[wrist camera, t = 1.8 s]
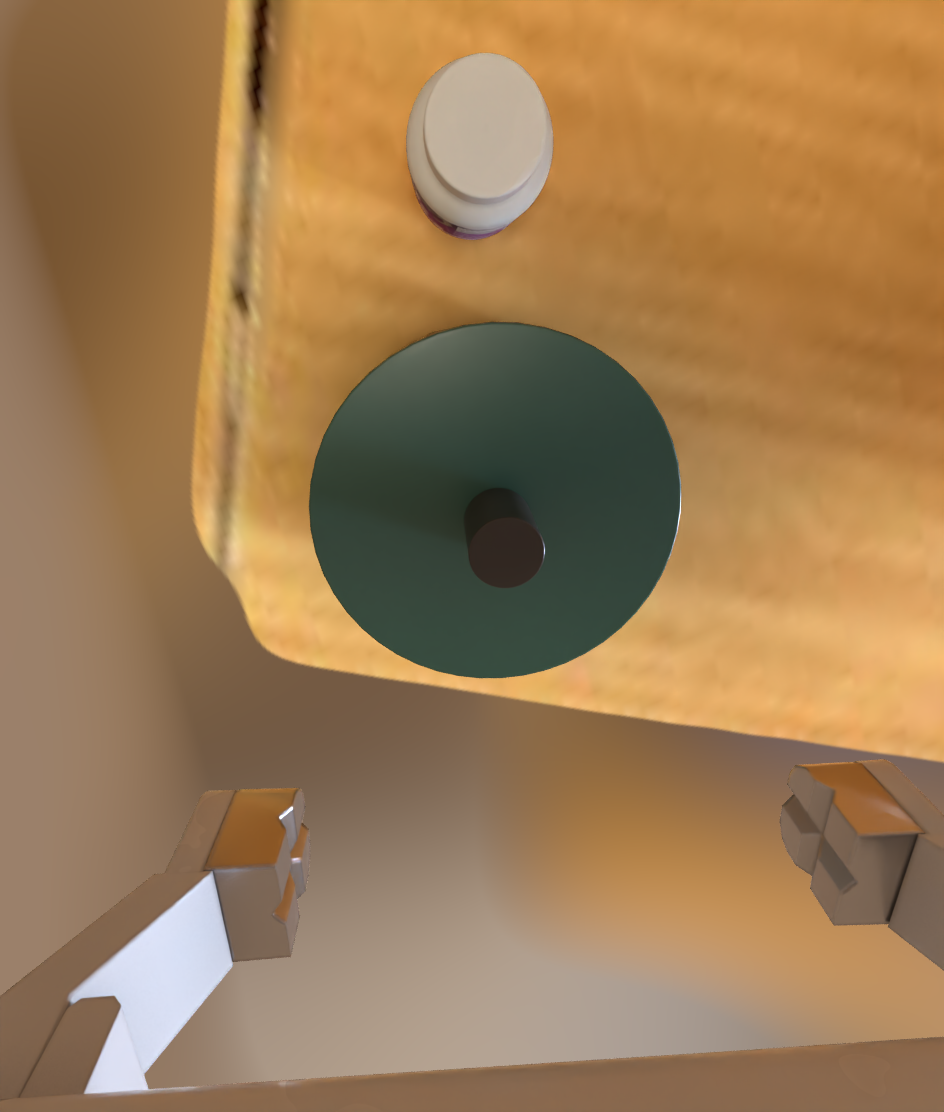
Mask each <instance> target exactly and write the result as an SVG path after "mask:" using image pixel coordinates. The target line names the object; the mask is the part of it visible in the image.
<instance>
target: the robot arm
mask: <svg viewBox="0 0 944 1112" xmlns="http://www.w3.org/2000/svg"><path fill="white" fill-rule="evenodd" d="M787 785H788V786H789V788H790V789H791V791H792V792H793V794H794V795H792V797H790V798H789V799H788V800H787V801H786V802H785V803H784V804H783V805H782V811H781V817H780V826H781V833H782V839H783V842H784V844H785V847H786V849H787V852H788V854H789V855H790V857H791V858H792V860H793V862H794V863H795V865H796V866H798V867H799V868H801V869H802V870H804V871H805V872H807V873H808V874H810V875H811V876H812V881H811V887H810V889H811V890H812V892H813V893H814V895H815V897H816V898H817V900H818V901H819V903H820V904H821V906H822V907H823V909H824V911H825V912H826V914H827V915H828V917H829V919H830V920H831V922H832V923H833V925H870V924H889V925H888V927H889V928H890V929H891V930H893V931H894V932H895V933H897V934H898V935H899V936H900V937H902V938H903V939H904V940H905V941H907V942H908V943H909V944H911V945H912V946H913V947H914V948H916V949H917V950H918V951H919V952H921V953H922V954H923V955H925V956H926V957H927V958H928V959H930V960H931V961H932V962H933V963H935V964H936V965H937V966H939V967H940V968H941V969H942V970H944V815H943V814H942V813H941V812H940V811H939V810H938V809H937V808H936V807H935V806H934V805H933V804H932V803H931V801H930V800H928V799H927V798H926V796H925V795H924V794H923V793H922V792H921V791H920V790H919V789H918V788H917V787H916V786H915V785H914V784H913V783H912V782H911V781H910V780H909V779H908V778H907V777H906V776H905V775H904V774H903V773H902V772H901V771H900V770H899V769H898V768H897V767H896V766H895V765H894V764H892V763H890V762H888V761H887V760H871V761H870V760H869V761H855V762H845V763H825V764H807V765H795V766H794V768H793V769H792V770H791V772H790V774H789V778H788V783H787ZM304 811H305V802H304V796H303V791H302V790H301V789H300V788H283V789H241V790H240V789H239V790H226V791H225V790H222V791H207V792H205V793H204V794H203V795H202V796H201V797H200V799H199V801H198V803H197V805H196V807H195V809H194V812H193V814H192V816H191V818H190V820H189V822H188V824H187V826H186V828H185V831H184V833H183V835H182V837H181V839H180V841H179V844H178V845H177V848H176V850H175V852H174V854H173V856H172V858H171V860H170V862H169V865H168V867H167V869H166V871H165V873H163V874H154V875H153V876H151V877H150V878H149V879H148V880H146V881H145V882H144V883H143V884H141V885H140V886H139V887H138V888H136V889H135V890H134V891H132V892H131V893H130V894H129V895H127V896H126V897H125V898H124V899H122V900H121V901H120V902H119V903H117V904H116V905H115V906H114V907H112V908H111V909H110V910H109V911H107V912H106V913H105V914H103V915H102V916H101V917H100V918H98V919H97V920H96V921H94V922H93V923H92V924H91V925H89V926H88V927H87V928H86V929H84V930H83V931H82V932H81V933H79V934H78V935H77V936H76V937H74V938H73V939H72V940H70V941H69V942H68V943H67V944H66V945H64V946H63V947H62V948H61V949H59V950H58V951H57V952H56V953H54V954H53V955H52V956H50V957H49V958H48V959H47V960H45V961H44V962H43V963H41V964H40V965H39V966H38V967H36V968H35V969H34V970H32V971H31V972H30V973H29V974H27V975H26V976H25V977H24V978H22V979H21V980H20V981H19V982H17V983H16V984H15V985H14V986H12V987H11V988H10V989H8V990H7V991H6V992H5V993H4V994H2V995H1V996H0V1112H944V1037H931V1038H918V1039H917V1038H916V1039H901V1040H888V1041H872V1042H857V1043H843V1044H829V1045H814V1046H799V1047H783V1048H768V1049H754V1050H740V1051H724V1052H710V1053H709V1052H708V1053H693V1054H679V1055H664V1056H648V1057H632V1058H617V1059H603V1060H586V1061H572V1062H571V1061H570V1062H557V1063H556V1062H555V1063H541V1064H525V1065H509V1066H494V1067H481V1068H480V1067H479V1068H464V1069H449V1070H433V1071H419V1072H403V1073H388V1074H373V1075H358V1076H343V1077H328V1078H312V1079H299V1080H283V1081H268V1082H252V1083H237V1084H222V1085H207V1086H191V1087H176V1088H161V1089H148V1086H147V1083H146V1080H145V1077H144V1074H145V1072H146V1071H147V1070H148V1069H149V1068H150V1066H151V1065H152V1064H153V1063H154V1061H155V1060H156V1059H157V1057H159V1055H160V1054H161V1053H162V1052H163V1050H164V1049H165V1048H166V1047H167V1046H168V1044H169V1043H170V1042H171V1041H172V1039H173V1038H174V1037H175V1036H176V1035H177V1033H178V1032H179V1031H180V1030H181V1028H182V1027H183V1026H184V1025H185V1024H186V1022H187V1021H188V1020H189V1019H190V1017H191V1016H192V1015H193V1014H194V1013H195V1011H196V1010H197V1009H198V1008H199V1007H200V1005H201V1004H202V1003H203V1002H204V1000H205V999H206V998H207V997H208V996H209V994H210V993H211V992H212V991H213V990H214V988H215V987H216V986H217V985H218V983H219V982H220V981H221V980H222V979H223V977H224V976H225V975H226V973H227V972H228V971H229V970H230V969H231V967H232V966H233V962H238V961H249V960H260V959H272V958H283V957H291V954H292V949H293V945H294V941H295V935H296V932H297V927H298V923H299V918H300V915H299V907H298V900H297V899H298V898H299V897H300V896H301V895H302V894H303V893H304V892H305V890H306V885H307V881H308V876H309V864H310V837H309V829H308V828H307V827H306V826H305V825H304V824H303V823H302V819H303V815H304Z"/></svg>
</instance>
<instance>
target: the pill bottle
mask: <svg viewBox="0 0 944 1112" xmlns="http://www.w3.org/2000/svg"><path fill="white" fill-rule="evenodd" d="M406 152H407V161H408V167H409V170H410V174H411V178H412V183H413V186H414V190H415V193H416V196H417V199H418V202H419V204H420V206H421V208H422V209H423V211H424V213H425V214H426V216H427V217H428V218H429V219H430V221H431V222H432V223H433V224H434V225H435V226H437V227H438V228H439V229H441V230H442V231H444V232H445V233H447V234H449V235H451V236H454V237H457V238H461V239H468V240H476V239H482V238H486V237H489V236H492V235H494V234H496V233H498V232H500V231H501V230H503V229H504V228H506V227H507V226H508V225H509V224H510V223H511V222H513V221H514V220H515V219H516V218H518V217H519V216H520V215H521V214H523V213H524V212H525V211H526V210H527V209H528V208H529V207H530V206H531V205H532V204H533V202H534V201H535V199H536V198H537V196H538V195H539V194H540V192H541V190H542V188H543V186H544V184H545V181H546V179H547V176H548V174H549V170H550V166H551V162H552V156H553V129H552V122H551V118H550V114H549V111H548V108H547V105H546V103H545V100H544V98H543V96H542V95H541V93H540V90H539V88H538V86H537V85H536V83H535V81H534V80H533V78H532V77H531V76H530V75H529V74H528V72H527V71H526V70H525V69H524V68H523V67H522V66H521V65H519V64H518V63H516V62H515V61H513V60H511V59H510V58H507V57H505V56H502V55H499V54H493V53H477V54H472V55H469V56H466V57H463V58H460V59H456V60H454V61H452V62H450V63H448V64H447V65H445V66H443V67H442V68H441V69H439V70H438V71H437V72H436V73H435V74H434V75H433V76H432V77H431V78H430V79H429V80H428V81H427V82H426V84H425V85H424V86H423V88H422V89H421V91H420V93H419V94H418V96H417V98H416V100H415V102H414V105H413V107H412V110H411V113H410V117H409V121H408V126H407V135H406Z"/></svg>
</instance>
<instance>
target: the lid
mask: <svg viewBox="0 0 944 1112" xmlns="http://www.w3.org/2000/svg"><path fill="white" fill-rule="evenodd" d="M680 511H681V480H680V472H679V464H678V459H677V456H676V452H675V448H674V444H673V441H672V438H671V436H670V433H669V431H668V429H667V426H666V424H665V422H664V419H663V417H662V416H661V414H660V412H659V411H658V409H657V407H656V406H655V404H654V402H653V401H652V399H651V397H650V396H649V395H648V394H647V392H646V391H645V390H644V389H643V388H642V386H641V385H640V384H639V383H638V382H637V380H636V379H635V378H634V377H633V376H632V375H631V374H630V373H629V372H627V371H626V370H625V369H624V368H623V367H622V366H621V365H620V364H619V363H617V362H616V361H615V360H614V359H612V358H611V357H609V356H608V355H606V354H605V353H603V352H602V351H600V350H599V349H597V348H596V347H594V346H592V345H590V344H588V343H586V342H584V341H582V340H580V339H578V338H575V337H573V336H571V335H568V334H565V333H562V332H559V331H556V330H552V329H549V328H546V327H542V326H536V325H530V324H524V323H518V322H485V323H476V324H468V325H462V326H458V327H454V328H450V329H447V330H443V331H439V332H436V333H434V334H432V335H429V336H427V337H424V338H422V339H419V340H417V341H415V342H413V343H411V344H409V345H408V346H406V347H404V348H402V349H401V350H399V351H397V352H396V353H394V354H392V355H391V356H389V357H388V358H387V359H386V360H384V361H383V362H382V363H380V364H379V365H378V366H377V367H375V368H374V369H373V370H372V371H370V372H369V373H368V374H367V376H366V377H365V378H364V379H363V380H362V381H361V382H360V383H359V384H358V385H357V386H356V387H355V388H354V389H353V390H352V391H351V393H350V394H349V395H348V397H347V398H346V399H345V401H344V402H343V404H342V405H341V406H340V408H339V409H338V411H337V412H336V414H335V415H334V417H333V419H332V421H331V423H330V425H329V427H328V429H327V431H326V432H325V434H324V437H323V439H322V442H321V445H320V448H319V451H318V453H317V456H316V459H315V464H314V469H313V473H312V478H311V484H310V499H309V513H310V527H311V533H312V538H313V543H314V547H315V552H316V555H317V558H318V560H319V563H320V566H321V569H322V571H323V574H324V576H325V578H326V580H327V582H328V584H329V585H330V587H331V589H332V591H333V593H334V595H335V596H336V597H337V599H338V600H339V602H340V603H341V605H342V606H343V607H344V609H345V610H346V612H347V613H348V614H349V615H350V616H351V617H352V618H353V619H354V620H355V621H356V623H357V624H358V625H359V626H360V627H361V628H362V629H363V630H364V631H366V632H367V633H368V634H369V635H370V636H372V637H373V638H374V639H375V640H376V641H378V642H379V643H380V644H382V645H383V646H385V647H386V648H388V649H389V650H391V651H393V652H394V653H396V654H397V655H399V656H401V657H403V658H405V659H408V660H410V661H412V662H414V663H416V664H418V665H421V666H424V667H427V668H430V669H433V670H435V671H439V672H443V673H448V674H452V675H457V676H464V677H474V678H506V677H514V676H523V675H527V674H532V673H536V672H540V671H544V670H547V669H550V668H553V667H556V666H559V665H562V664H564V663H567V662H569V661H571V660H573V659H575V658H577V657H579V656H581V655H583V654H585V653H587V652H588V651H590V650H592V649H593V648H595V647H596V646H598V645H599V644H601V643H603V642H604V641H605V640H607V639H608V638H609V637H610V636H612V635H613V634H614V633H615V632H616V631H618V630H619V629H620V628H621V627H622V626H623V625H624V624H625V623H626V622H627V621H628V620H629V619H630V618H631V617H632V616H633V615H634V614H635V613H636V612H637V611H638V610H639V608H640V607H641V606H642V604H643V603H644V602H645V600H646V599H647V598H648V597H649V595H650V594H651V592H652V591H653V589H654V587H655V586H656V584H657V582H658V580H659V579H660V577H661V575H662V573H663V571H664V569H665V566H666V564H667V562H668V560H669V557H670V555H671V552H672V549H673V545H674V542H675V538H676V535H677V531H678V524H679V518H680Z"/></svg>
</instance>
